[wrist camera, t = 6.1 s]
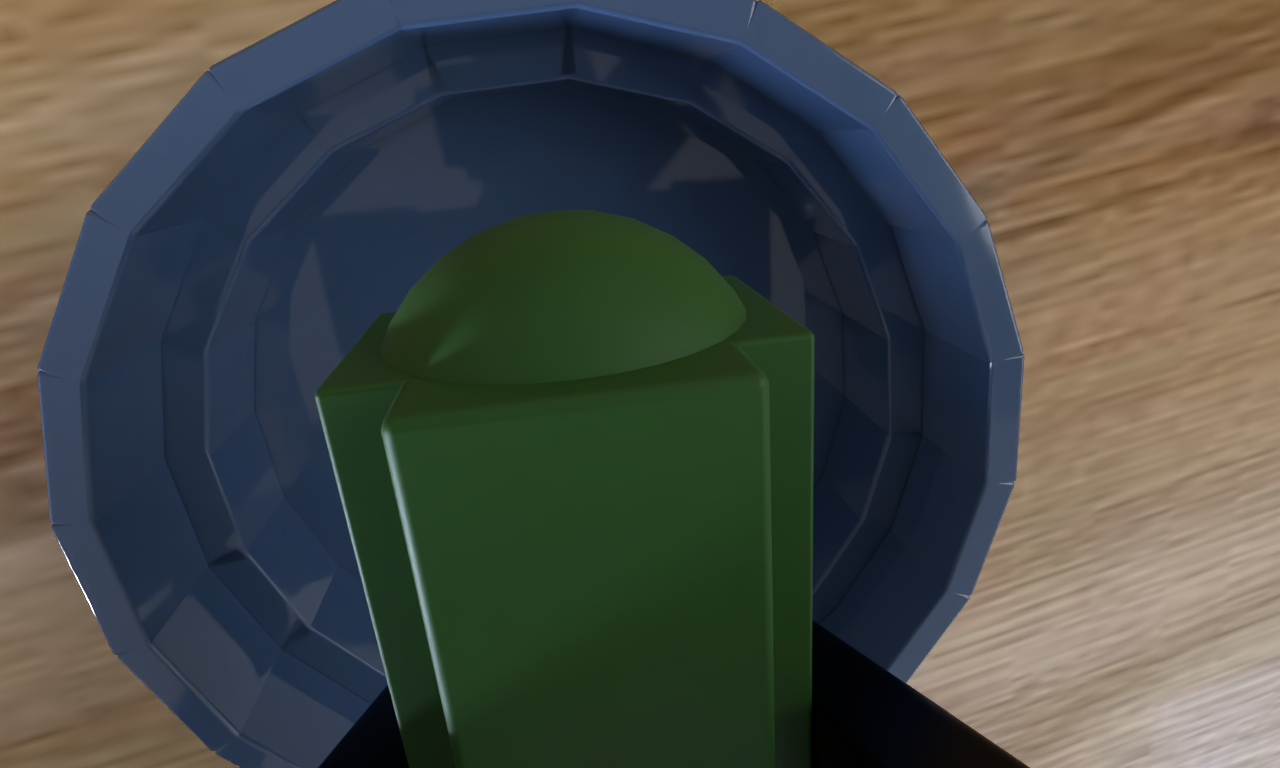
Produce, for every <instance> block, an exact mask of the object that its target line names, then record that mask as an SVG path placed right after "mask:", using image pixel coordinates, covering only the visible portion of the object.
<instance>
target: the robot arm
mask: <svg viewBox="0 0 1280 768" xmlns="http://www.w3.org/2000/svg"><path fill="white" fill-rule="evenodd" d="M318 768H409V765H408V761H407V757H406V753H405V750H404V746H403V742H402V738H401V734H400V730H399V726H398V722H397V718H396V714H395V710H394V706H393V702H392V698H391V695H390V691H389V687H388V685H387V686H386V687H385V688H384V689H383V691H382V692H381V693H380V694H379V695H378V697H377V698H376V699H375V700H374V701H373V703H372V704H371V705H370V706H369V707H368V708H367V710H366V711H365V712H364V713H363V714H362V716H361V717H360V718H359V719H358V720H357V722H356V723H355V724H354V725H353V726H352V727H351V729H350V730H349V731H348V732H347V733H346V735H345V736H344V737H343V738H342V739H341V741H340V742H339V743H338V744H337V745H336V746H335V748H334V749H333V750H332V751H331V752H330V754H329V755H328V756H327V757H326V758H325V760H324V761H323V762H322V763H321V764H320V765H319V767H318ZM811 768H1030V767H1028V766H1027V765H1025V764H1024V763H1022V762H1021V761H1019V760H1018V759H1016V758H1015V757H1013V756H1012V755H1010V754H1009V753H1008V752H1006V751H1005V750H1003V749H1002V748H1000V747H999V746H997V745H996V744H994V743H993V742H991V741H990V740H988V739H987V738H985V737H984V736H983V735H981V734H980V733H978V732H977V731H975V730H974V729H972V728H971V727H969V726H968V725H966V724H965V723H963V722H962V721H960V720H959V719H958V718H956V717H955V716H953V715H952V714H950V713H949V712H947V711H946V710H944V709H943V708H941V707H940V706H938V705H937V704H936V703H934V702H933V701H931V700H930V699H928V698H927V697H925V696H924V695H922V694H921V693H919V692H918V691H916V690H915V689H913V688H912V687H911V686H909V685H908V684H906V683H905V682H903V681H902V680H900V679H899V678H897V677H896V676H894V675H893V674H891V673H890V672H889V671H887V670H886V669H884V668H883V667H881V666H880V665H878V664H877V663H875V662H874V661H872V660H871V659H869V658H868V657H866V656H865V655H864V654H862V653H861V652H859V651H858V650H856V649H855V648H853V647H852V646H850V645H849V644H847V643H846V642H844V641H843V640H841V639H840V638H839V637H837V636H836V635H834V634H833V633H831V632H830V631H828V630H827V629H825V628H824V627H822V626H821V625H819V624H818V623H817V622H815V621H814V620H812V722H811Z"/></svg>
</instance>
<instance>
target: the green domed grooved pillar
mask: <svg viewBox="0 0 1280 768" xmlns="http://www.w3.org/2000/svg"><path fill="white" fill-rule="evenodd" d="M814 342H815V337H814V335H813V333H812V332H811V331H810V330H808V329H807V328H805V327H804V326H803V325H801V324H800V323H799V322H797V321H796V320H794V319H793V318H792V317H790V316H789V315H787V314H786V313H785V312H783V311H782V310H781V309H779V308H778V307H776V306H775V305H774V304H772V303H771V302H769V301H768V300H767V299H765V298H764V297H763V296H761V295H760V294H758V293H757V292H756V291H754V290H753V289H752V288H750V287H749V286H747V285H746V284H745V283H743V282H742V281H740V280H739V279H738V278H736V277H735V276H724V277H722V276H721V275H720V274H719V273H718V272H717V271H716V270H715V269H714V267H713V266H712V265H711V264H710V263H709V262H708V261H707V260H706V259H705V258H704V257H702V256H701V255H700V254H698V253H697V252H695V251H694V250H692V249H691V248H690V247H688V246H687V245H685V244H684V243H682V242H681V241H680V240H678V239H677V238H675V237H674V236H672V235H670V234H668V233H666V232H663V231H661V230H659V229H656V228H654V227H652V226H649V225H647V224H645V223H643V222H640V221H638V220H636V219H633V218H629V217H624V216H619V215H614V214H609V213H604V212H599V211H594V210H582V209H580V210H558V211H548V212H539V213H533V214H527V215H522V216H518V217H515V218H512V219H510V220H507V221H505V222H502V223H500V224H498V225H495V226H493V227H490V228H488V229H485V230H483V231H480V232H478V233H476V234H474V235H473V236H471V237H470V238H468V239H467V240H465V241H464V242H462V243H461V244H459V245H458V246H457V247H455V248H454V249H452V250H451V251H449V252H448V253H446V254H445V255H443V256H442V257H441V258H440V259H438V260H437V261H436V263H435V264H434V265H433V266H432V267H431V268H430V269H429V270H428V271H427V272H426V273H425V274H424V275H423V276H422V277H421V278H420V279H419V280H418V282H417V283H416V284H415V285H414V286H413V287H412V288H411V289H410V290H409V292H408V294H407V295H406V297H405V299H404V300H403V302H402V304H401V305H400V307H399V308H398V310H397V312H391V313H382V314H380V315H379V316H378V317H377V318H376V319H375V320H374V322H373V323H372V324H371V325H370V326H369V328H368V329H367V330H366V331H365V333H364V334H363V335H362V336H361V337H360V339H359V340H358V341H357V342H356V343H355V345H354V346H353V347H352V348H351V349H350V351H349V352H348V353H347V354H346V355H345V357H344V358H343V359H342V360H341V362H340V363H339V364H338V365H337V366H336V368H335V369H334V370H333V371H332V372H331V374H330V375H329V376H328V377H327V378H326V380H325V381H324V382H323V383H322V384H321V386H320V387H319V388H318V389H317V390H316V392H315V400H316V404H317V408H318V412H319V416H320V420H321V424H322V427H323V431H324V435H325V439H326V443H327V447H328V451H329V455H330V459H331V463H332V467H333V471H334V475H335V479H336V482H337V486H338V490H339V494H340V498H341V502H342V506H343V510H344V514H345V518H346V522H347V526H348V530H349V534H350V537H351V541H352V545H353V549H354V553H355V557H356V561H357V565H358V569H359V573H360V577H361V581H362V585H363V589H364V592H365V596H366V600H367V604H368V608H369V612H370V616H371V620H372V624H373V628H374V632H375V636H376V640H377V643H378V647H379V651H380V655H381V659H382V663H383V667H384V671H385V675H386V679H387V683H388V687H389V691H390V695H391V698H392V702H393V706H394V710H395V714H396V718H397V722H398V726H399V730H400V734H401V738H402V742H403V746H404V750H405V753H406V757H407V761H408V765H409V768H811V722H812V596H813V469H814Z"/></svg>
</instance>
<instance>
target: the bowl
mask: <svg viewBox="0 0 1280 768" xmlns="http://www.w3.org/2000/svg"><path fill="white" fill-rule="evenodd" d="M580 209H582V210H594V211H599V212H604V213H609V214H614V215H619V216H624V217H629V218H633V219H636V220H638V221H640V222H643V223H645V224H647V225H649V226H652V227H654V228H656V229H659V230H661V231H663V232H666V233H668V234H670V235H672V236H674V237H675V238H677V239H678V240H680V241H681V242H682V243H684V244H685V245H687V246H688V247H690V248H691V249H692V250H694V251H695V252H697V253H698V254H700V255H701V256H702V257H704V258H705V259H706V260H707V261H708V262H709V263H710V264H711V265H712V266H713V267H714V269H715V270H716V271H717V272H718V273H719V274H720V275H721V276H722V277H724V276H735V277H736V278H738V279H739V280H740V281H742V282H743V283H745V284H746V285H747V286H749V287H750V288H752V289H753V290H754V291H756V292H757V293H758V294H760V295H761V296H763V297H764V298H765V299H767V300H768V301H769V302H771V303H772V304H774V305H775V306H776V307H778V308H779V309H781V310H782V311H783V312H785V313H786V314H787V315H789V316H790V317H792V318H793V319H794V320H796V321H797V322H799V323H800V324H801V325H803V326H804V327H805V328H807V329H808V330H810V331H811V332H812V333H813V335H814V337H815V342H814V469H813V596H812V620H814V621H815V622H817V623H818V624H819V625H821V626H822V627H824V628H825V629H827V630H828V631H830V632H831V633H833V634H834V635H836V636H837V637H839V638H840V639H841V640H843V641H844V642H846V643H847V644H849V645H850V646H852V647H853V648H855V649H856V650H858V651H859V652H861V653H862V654H864V655H865V656H866V657H868V658H869V659H871V660H872V661H874V662H875V663H877V664H878V665H880V666H881V667H883V668H884V669H886V670H887V671H889V672H890V673H891V674H893V675H894V676H896V677H897V678H899V679H900V680H902V681H903V682H905V683H907V681H908V680H909V679H910V677H911V676H912V675H913V673H914V672H915V671H916V669H917V668H918V667H919V665H920V664H921V663H922V661H923V660H924V659H925V657H926V656H927V655H928V653H929V652H930V651H931V649H932V648H933V647H934V645H935V644H936V643H937V641H938V640H939V639H940V637H941V636H942V635H943V633H944V632H945V631H946V629H947V628H948V627H949V625H950V624H951V623H952V621H953V620H954V619H955V617H956V616H957V615H958V613H959V612H960V611H961V609H962V608H963V607H964V605H965V604H966V603H967V601H968V600H969V598H970V597H969V595H971V594H972V593H973V590H974V587H975V585H976V582H977V580H978V577H979V574H980V572H981V569H982V567H983V564H984V562H985V559H986V556H987V554H988V551H989V549H990V546H991V544H992V541H993V538H994V536H995V533H996V531H997V528H998V526H999V523H1000V520H1001V518H1002V515H1003V513H1004V510H1005V508H1006V505H1007V502H1008V500H1009V497H1010V495H1011V492H1012V489H1013V487H1014V481H1015V480H1016V472H1017V457H1018V442H1019V427H1020V412H1021V397H1022V382H1023V368H1024V355H1023V353H1022V352H1023V348H1022V344H1021V340H1020V337H1019V333H1018V329H1017V326H1016V322H1015V318H1014V315H1013V311H1012V307H1011V303H1010V300H1009V296H1008V292H1007V289H1006V285H1005V281H1004V278H1003V274H1002V270H1001V267H1000V263H999V259H998V256H997V252H996V248H995V245H994V241H993V237H992V234H991V230H990V226H989V223H988V222H987V221H986V220H987V217H986V215H985V214H984V212H983V211H982V210H981V208H980V207H979V205H978V204H977V203H976V201H975V200H974V198H973V197H972V196H971V194H970V193H969V191H968V190H967V188H966V187H965V186H964V184H963V183H962V181H961V180H960V179H959V177H958V176H957V174H956V173H955V172H954V170H953V169H952V167H951V166H950V165H949V163H948V162H947V160H946V159H945V157H944V156H943V155H942V153H941V152H940V150H939V149H938V148H937V146H936V145H935V143H934V142H933V141H932V139H931V138H930V136H929V135H928V133H927V132H926V131H925V129H924V128H923V126H922V125H921V124H920V122H919V121H918V119H917V118H916V117H915V115H914V114H913V112H912V111H911V110H910V108H909V107H908V105H907V104H906V102H905V101H904V100H903V98H902V97H901V96H899V95H898V94H897V93H896V91H894V90H893V89H891V88H890V87H888V86H887V85H885V84H884V83H882V82H881V81H879V80H878V79H876V78H875V77H873V76H872V75H871V74H869V73H868V72H866V71H865V70H863V69H862V68H860V67H859V66H857V65H856V64H854V63H853V62H851V61H850V60H848V59H847V58H845V57H844V56H842V55H841V54H839V53H838V52H837V51H835V50H834V49H832V48H831V47H829V46H828V45H826V44H825V43H823V42H822V41H820V40H819V39H817V38H816V37H814V36H813V35H811V34H810V33H808V32H807V31H806V30H804V29H803V28H801V27H800V26H798V25H797V24H795V23H794V22H792V21H791V20H789V19H788V18H786V17H785V16H783V15H782V14H780V13H779V12H777V11H776V10H775V9H773V8H772V7H770V6H769V5H767V4H766V3H764V2H763V1H759V0H758V1H756V0H336V1H334V2H332V3H330V4H328V5H327V6H325V7H323V8H321V9H319V10H317V11H315V12H313V13H311V14H309V15H307V16H306V17H304V18H302V19H300V20H298V21H296V22H294V23H292V24H290V25H288V26H287V27H285V28H283V29H281V30H279V31H277V32H275V33H273V34H271V35H269V36H267V37H266V38H264V39H262V40H260V41H258V42H256V43H254V44H252V45H250V46H248V47H247V48H245V49H243V50H241V51H239V52H237V53H235V54H233V55H231V56H229V57H227V58H226V59H224V60H222V61H220V62H218V63H216V64H214V65H212V66H211V67H210V68H209V71H207V72H205V73H204V74H203V75H202V76H201V77H200V78H199V79H198V81H197V82H196V83H195V84H194V85H193V86H192V88H191V89H190V90H189V91H188V92H187V94H186V95H185V96H184V97H183V98H182V99H181V101H180V102H179V103H178V104H177V105H176V106H175V108H174V109H173V110H172V111H171V112H170V113H169V115H168V116H167V117H166V118H165V119H164V120H163V122H162V123H161V124H160V125H159V126H158V128H157V129H156V130H155V131H154V132H153V133H152V135H151V136H150V137H149V138H148V139H147V140H146V142H145V143H144V144H143V145H142V146H141V147H140V149H139V150H138V151H137V152H136V153H135V155H134V156H133V157H132V158H131V159H130V160H129V162H128V163H127V164H126V165H125V166H124V167H123V169H122V170H121V171H120V172H119V173H118V174H117V176H116V177H115V178H114V179H113V180H112V182H111V183H110V184H109V185H108V186H107V187H106V189H105V190H104V191H103V192H102V193H101V194H100V196H99V197H98V198H97V199H96V200H95V201H94V203H93V204H92V206H91V210H89V211H88V212H87V214H86V217H85V220H84V223H83V226H82V229H81V232H80V235H79V239H78V242H77V245H76V248H75V251H74V254H73V257H72V261H71V264H70V267H69V270H68V273H67V276H66V279H65V283H64V286H63V289H62V292H61V295H60V298H59V301H58V305H57V308H56V311H55V314H54V317H53V320H52V323H51V327H50V330H49V333H48V336H47V339H46V342H45V346H44V349H43V352H42V355H41V358H40V361H39V364H38V370H40V371H39V372H38V375H37V377H38V388H39V399H40V411H41V422H42V433H43V444H44V456H45V467H46V478H47V489H48V500H49V512H50V521H51V523H52V526H51V529H52V531H53V533H54V535H55V537H56V539H57V541H58V543H59V545H60V547H61V549H62V551H63V553H64V555H65V557H66V559H67V561H68V563H69V565H70V567H71V569H72V571H73V573H74V575H75V577H76V579H77V581H78V583H79V585H80V587H81V589H82V591H83V593H84V595H85V597H86V599H87V601H88V603H89V605H90V607H91V609H92V611H93V613H94V615H95V617H96V619H97V621H98V624H99V626H100V628H101V630H102V632H103V634H104V636H105V638H106V640H107V642H108V644H109V646H110V648H111V650H112V652H113V653H114V654H116V655H117V657H118V659H119V660H120V661H121V662H122V663H123V664H124V665H125V666H126V667H127V668H128V669H129V670H130V671H131V672H132V673H133V674H134V675H135V676H136V677H137V678H138V679H139V680H140V681H141V682H142V683H143V684H144V685H145V686H146V687H147V688H148V689H149V690H150V691H151V692H152V693H153V694H154V695H155V696H156V697H157V698H158V699H159V700H160V701H161V702H162V703H163V704H165V705H166V706H167V707H168V708H169V709H170V710H171V711H172V712H173V713H174V714H175V715H176V716H177V717H178V718H179V719H180V720H181V721H182V722H183V723H184V724H185V725H186V726H187V727H188V728H189V729H190V730H191V731H192V732H193V733H194V734H195V735H196V736H197V737H198V738H199V739H200V740H201V741H202V742H203V743H204V744H205V745H206V746H207V747H208V748H209V749H210V750H211V751H215V753H216V754H217V755H218V756H220V757H222V758H224V759H226V760H228V761H230V762H231V763H233V764H235V765H237V766H239V767H241V768H318V767H319V765H320V764H321V763H322V762H323V761H324V760H325V758H326V757H327V756H328V755H329V754H330V752H331V751H332V750H333V749H334V748H335V746H336V745H337V744H338V743H339V742H340V741H341V739H342V738H343V737H344V736H345V735H346V733H347V732H348V731H349V730H350V729H351V727H352V726H353V725H354V724H355V723H356V722H357V720H358V719H359V718H360V717H361V716H362V714H363V713H364V712H365V711H366V710H367V708H368V707H369V706H370V705H371V704H372V703H373V701H374V700H375V699H376V698H377V697H378V695H379V694H380V693H381V692H382V691H383V689H384V688H385V687H386V686H387V685H388V683H387V679H386V675H385V671H384V667H383V663H382V659H381V655H380V651H379V647H378V643H377V640H376V636H375V632H374V628H373V624H372V620H371V616H370V612H369V608H368V604H367V600H366V596H365V592H364V589H363V585H362V581H361V577H360V573H359V569H358V565H357V561H356V557H355V553H354V549H353V545H352V541H351V537H350V534H349V530H348V526H347V522H346V518H345V514H344V510H343V506H342V502H341V498H340V494H339V490H338V486H337V482H336V479H335V475H334V471H333V467H332V463H331V459H330V455H329V451H328V447H327V443H326V439H325V435H324V431H323V427H322V424H321V420H320V416H319V412H318V408H317V404H316V400H315V392H316V390H317V389H318V388H319V387H320V386H321V384H322V383H323V382H324V381H325V380H326V378H327V377H328V376H329V375H330V374H331V372H332V371H333V370H334V369H335V368H336V366H337V365H338V364H339V363H340V362H341V360H342V359H343V358H344V357H345V355H346V354H347V353H348V352H349V351H350V349H351V348H352V347H353V346H354V345H355V343H356V342H357V341H358V340H359V339H360V337H361V336H362V335H363V334H364V333H365V331H366V330H367V329H368V328H369V326H370V325H371V324H372V323H373V322H374V320H375V319H376V318H377V317H378V316H379V315H380V314H382V313H391V312H397V310H398V308H399V307H400V305H401V304H402V302H403V300H404V299H405V297H406V295H407V294H408V292H409V290H410V289H411V288H412V287H413V286H414V285H415V284H416V283H417V282H418V280H419V279H420V278H421V277H422V276H423V275H424V274H425V273H426V272H427V271H428V270H429V269H430V268H431V267H432V266H433V265H434V264H435V263H436V261H437V260H438V259H440V258H441V257H442V256H443V255H445V254H446V253H448V252H449V251H451V250H452V249H454V248H455V247H457V246H458V245H459V244H461V243H462V242H464V241H465V240H467V239H468V238H470V237H471V236H473V235H474V234H476V233H478V232H480V231H483V230H485V229H488V228H490V227H493V226H495V225H498V224H500V223H502V222H505V221H507V220H510V219H512V218H515V217H518V216H522V215H527V214H533V213H539V212H548V211H558V210H580Z"/></svg>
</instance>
